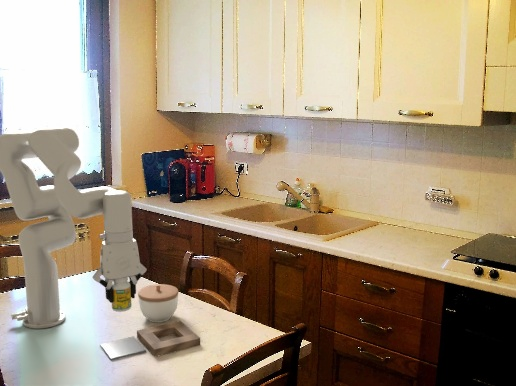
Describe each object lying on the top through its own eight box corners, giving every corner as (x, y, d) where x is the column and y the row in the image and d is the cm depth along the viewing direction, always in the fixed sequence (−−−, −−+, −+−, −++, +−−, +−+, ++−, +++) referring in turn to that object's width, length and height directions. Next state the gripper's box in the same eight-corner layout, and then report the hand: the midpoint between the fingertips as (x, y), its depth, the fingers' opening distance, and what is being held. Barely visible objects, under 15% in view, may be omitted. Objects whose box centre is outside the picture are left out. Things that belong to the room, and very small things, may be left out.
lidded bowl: (159, 306, 191) (158, 275, 189) (186, 316, 184) (186, 283, 182) (130, 319, 181) (129, 286, 179) (158, 329, 174) (158, 295, 171)
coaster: (111, 360, 154) (110, 358, 154) (100, 346, 162) (100, 344, 162) (146, 351, 159) (145, 349, 159) (133, 338, 168) (133, 336, 168)
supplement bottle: (127, 303, 162) (126, 271, 160) (134, 309, 158) (133, 276, 156) (109, 307, 159) (107, 274, 157) (115, 313, 155) (114, 280, 153)
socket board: (154, 356, 157) (154, 349, 156) (137, 337, 168) (136, 330, 168) (200, 345, 164) (200, 338, 163) (180, 327, 175) (180, 320, 175)
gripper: (91, 244, 147) (94, 309, 150) (153, 235, 156) (155, 297, 159) (83, 237, 153) (86, 300, 157) (143, 229, 162) (145, 289, 165)
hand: (121, 298), depth 158 cm, fingers closed on supplement bottle, 5 cm apart
